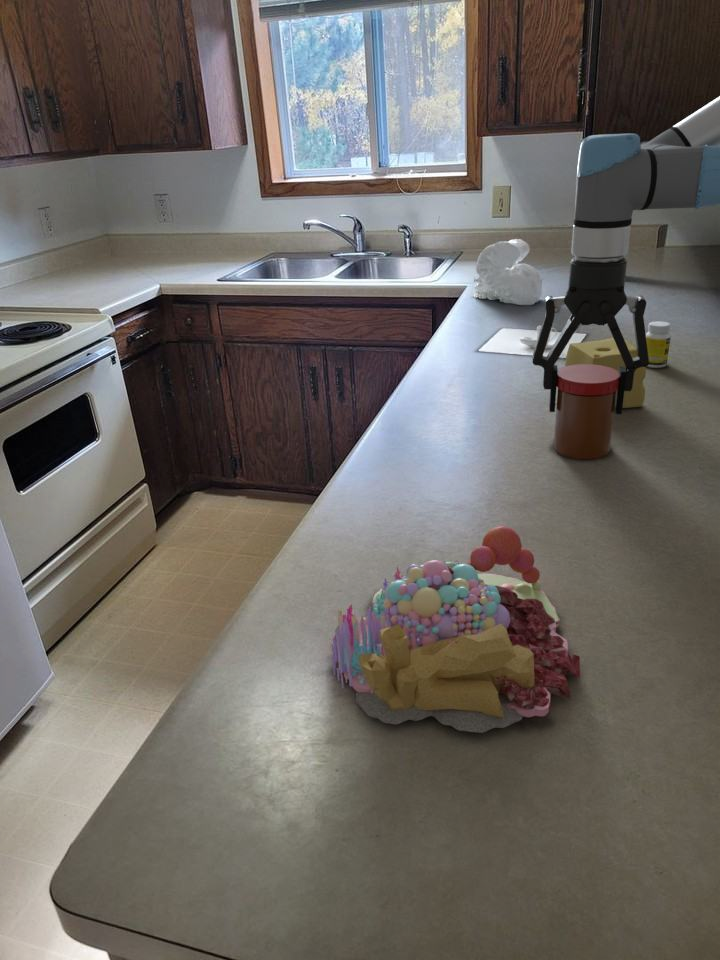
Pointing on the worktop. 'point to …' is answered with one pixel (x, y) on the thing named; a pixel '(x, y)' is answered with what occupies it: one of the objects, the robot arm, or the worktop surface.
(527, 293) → the white plaster sculpture
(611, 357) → the cheese
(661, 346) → the supplement bottle
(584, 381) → the lid
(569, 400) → the jam jar
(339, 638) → the pastel sphere sculpture
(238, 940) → the worktop surface
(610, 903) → the worktop surface
